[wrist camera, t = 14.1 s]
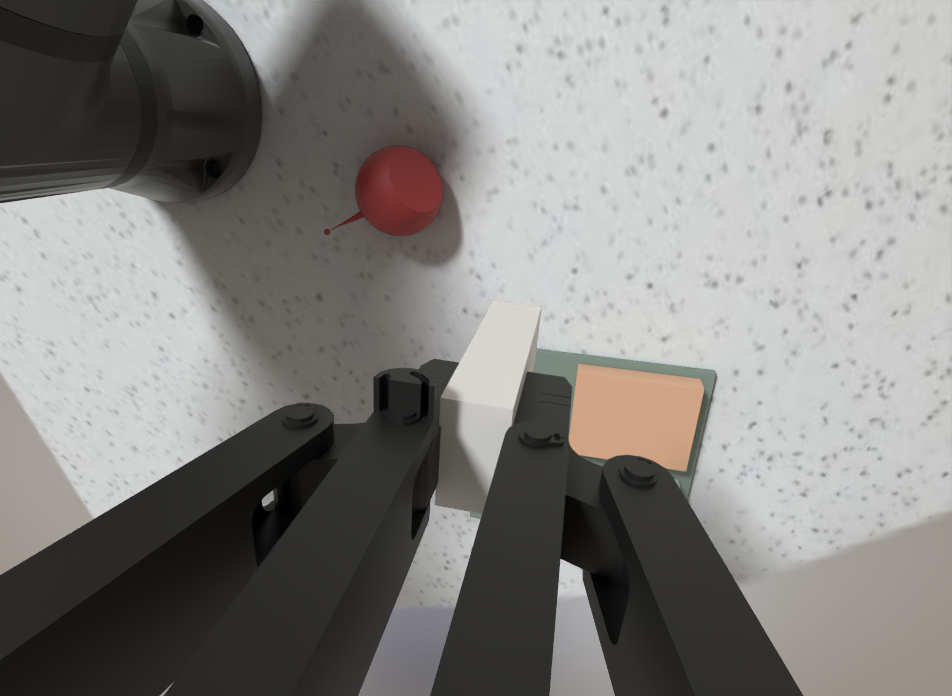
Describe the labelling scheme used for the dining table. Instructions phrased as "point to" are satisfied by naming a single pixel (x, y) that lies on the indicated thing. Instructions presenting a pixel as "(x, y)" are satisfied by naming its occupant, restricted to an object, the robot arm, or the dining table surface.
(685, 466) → the terracotta tile
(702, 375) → the mat
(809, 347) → the dining table surface
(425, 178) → the fruit
